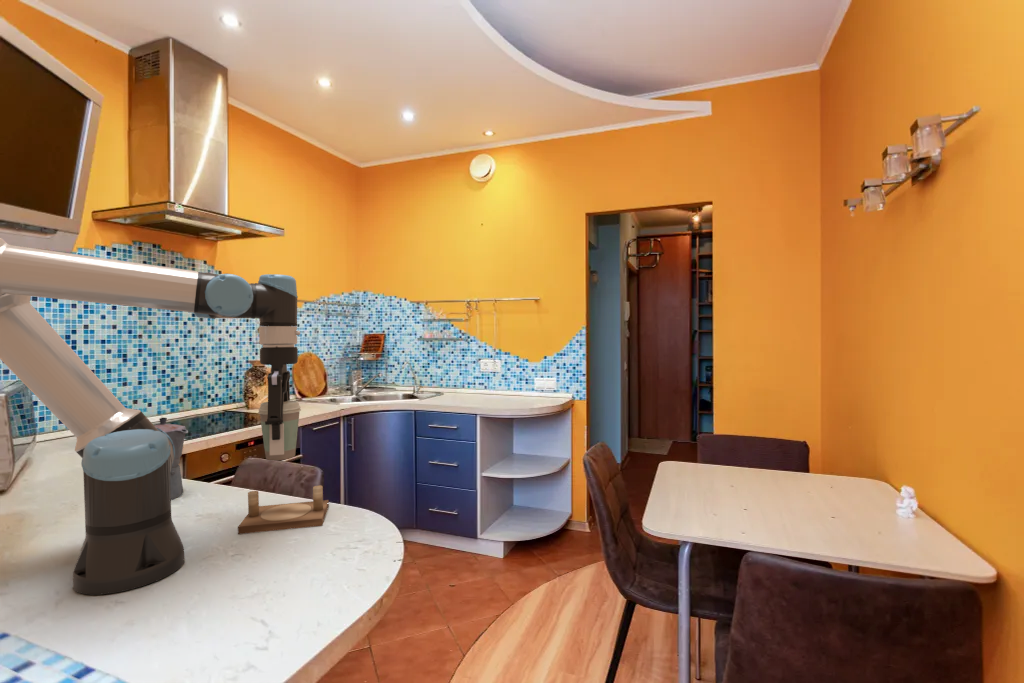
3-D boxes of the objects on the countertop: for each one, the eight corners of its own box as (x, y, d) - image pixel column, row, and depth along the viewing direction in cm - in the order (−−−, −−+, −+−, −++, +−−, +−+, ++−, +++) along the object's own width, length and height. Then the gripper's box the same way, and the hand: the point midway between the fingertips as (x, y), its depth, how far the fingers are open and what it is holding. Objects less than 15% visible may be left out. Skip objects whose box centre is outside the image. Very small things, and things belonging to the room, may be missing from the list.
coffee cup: (308, 452, 114) (307, 400, 114) (290, 462, 106) (289, 405, 105) (271, 452, 115) (271, 400, 114) (250, 462, 106) (249, 405, 106)
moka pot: (177, 503, 120) (174, 420, 120) (114, 504, 121) (111, 421, 120) (202, 490, 130) (200, 414, 129) (144, 491, 130) (141, 414, 130)
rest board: (322, 525, 105) (321, 494, 105) (238, 534, 101) (237, 502, 101) (328, 506, 117) (328, 478, 117) (253, 513, 113) (252, 484, 113)
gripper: (291, 347, 101) (292, 460, 101) (302, 345, 120) (303, 439, 121) (249, 347, 99) (251, 462, 99) (268, 345, 118) (269, 441, 119)
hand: (280, 450), depth 110 cm, fingers closed on coffee cup, 8 cm apart
